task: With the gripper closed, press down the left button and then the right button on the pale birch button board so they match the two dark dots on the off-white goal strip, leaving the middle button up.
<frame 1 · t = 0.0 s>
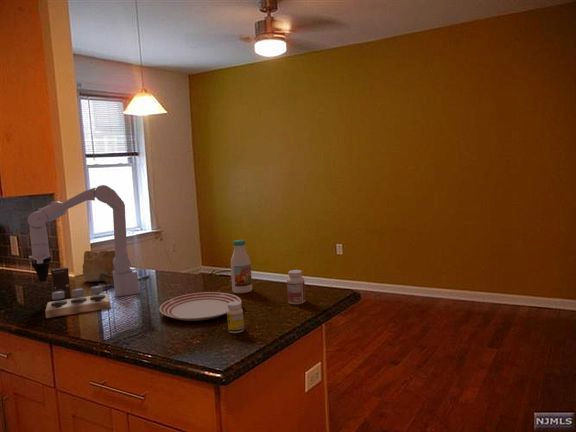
hand: (43, 279, 178), 10 cm above the worktop, fingers open, 7 cm apart
box: (62, 298, 188), on the worktop
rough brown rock: (110, 281, 214), on the worktop
button middle: (77, 292, 173), point 6 cm above the worktop, slide at 0.0 cm
button 1: (58, 295, 170), point 6 cm above the worktop, slide at 0.0 cm
button board: (79, 308, 172), on the worktop
milk bottle: (242, 291, 184), on the worktop
pill bottle: (296, 302, 166), on the worktop
button 2: (96, 289, 175), point 6 cm above the worktop, slide at 0.0 cm
supplement bottle: (236, 331, 141), on the worktop
dinner plate: (201, 313, 161), on the worktop
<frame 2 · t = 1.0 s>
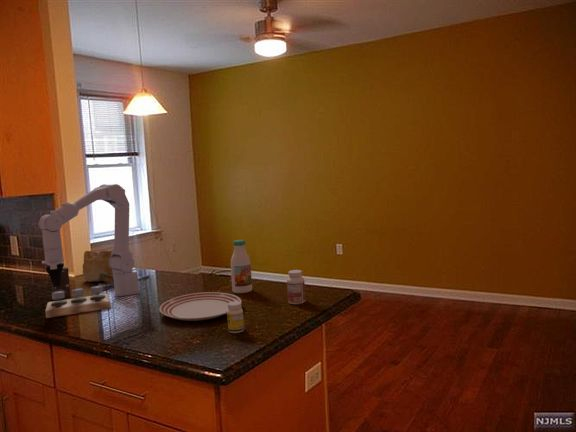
hand: (57, 285, 170), 9 cm above the worktop, fingers open, 3 cm apart
nothing on the worktop moved.
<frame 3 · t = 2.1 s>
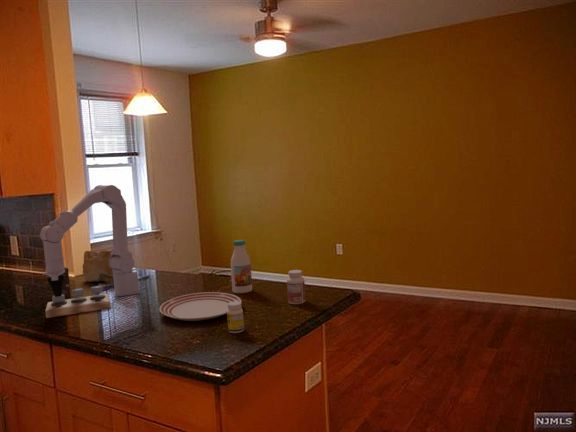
hand: (58, 296, 170), 5 cm above the worktop, fingers closed, pressing on button 1
button 1: (58, 298, 170), point 4 cm above the worktop, slide at 1.2 cm, touching gripper
everything else where it was.
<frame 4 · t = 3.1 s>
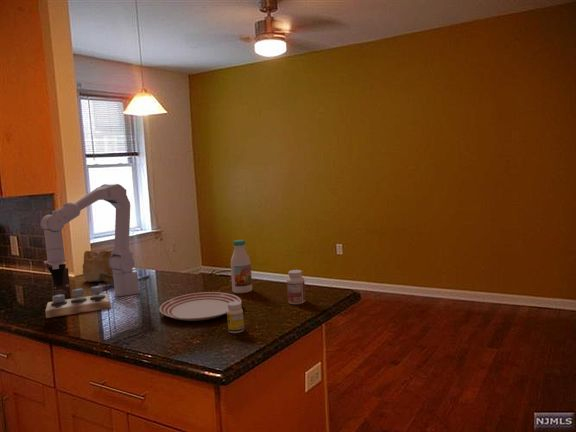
hand: (59, 285, 170), 9 cm above the worktop, fingers closed
button 1: (58, 298, 170), point 4 cm above the worktop, slide at 1.2 cm
everything else where it was.
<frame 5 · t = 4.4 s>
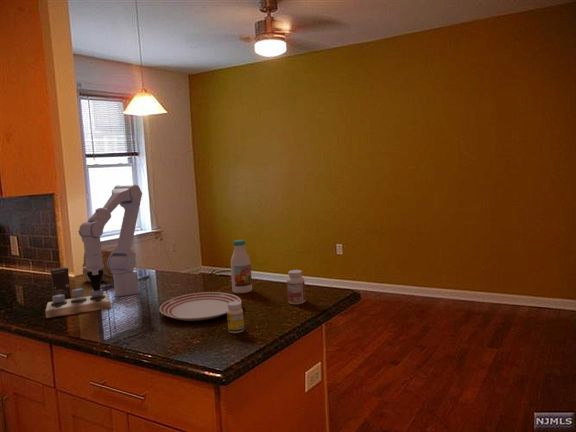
hand: (96, 290, 175), 6 cm above the worktop, fingers closed, pressing on button 2
button 2: (97, 292, 175), point 5 cm above the worktop, slide at 1.2 cm, touching gripper
everything else where it was.
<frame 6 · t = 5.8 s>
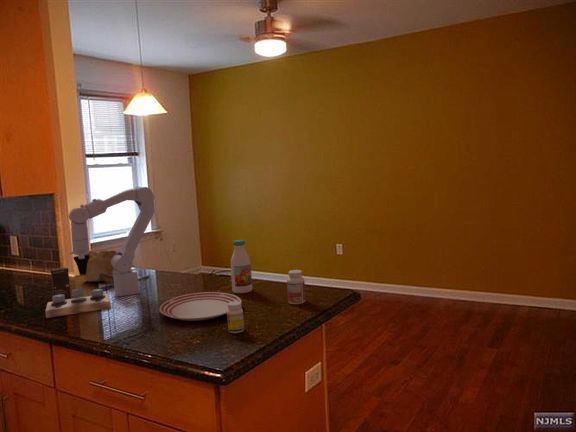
hand: (82, 274, 181), 10 cm above the worktop, fingers closed
button 2: (97, 293, 175), point 4 cm above the worktop, slide at 1.2 cm
everything else where it was.
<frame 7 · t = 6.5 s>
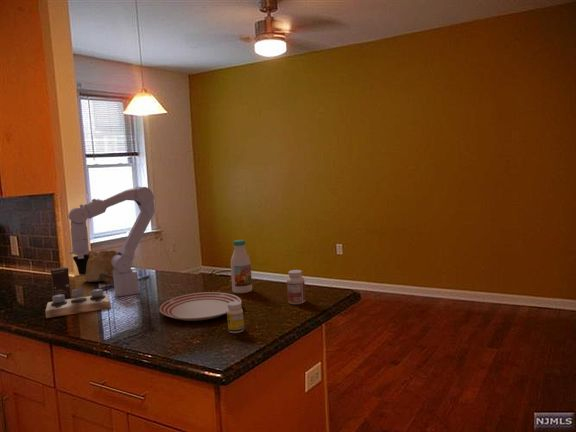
hand: (82, 274, 181), 10 cm above the worktop, fingers closed
nothing on the worktop moved.
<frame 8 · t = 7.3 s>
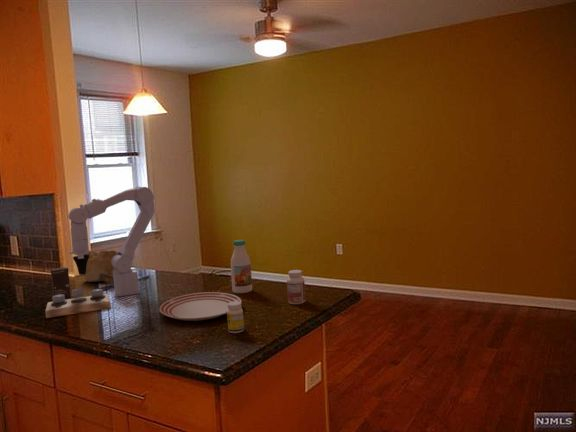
hand: (82, 274, 181), 10 cm above the worktop, fingers closed
nothing on the worktop moved.
at the end: button 1 slide at 1.2 cm; button 2 slide at 1.2 cm; button middle slide at 0.0 cm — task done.
